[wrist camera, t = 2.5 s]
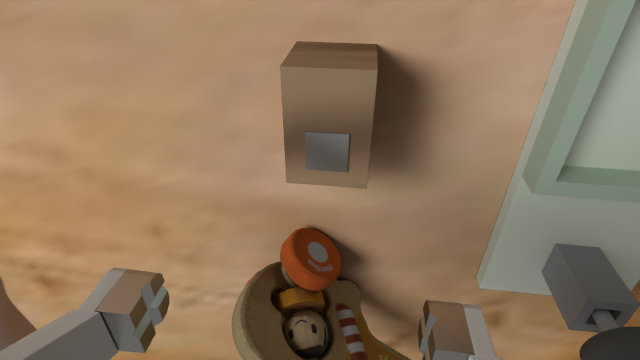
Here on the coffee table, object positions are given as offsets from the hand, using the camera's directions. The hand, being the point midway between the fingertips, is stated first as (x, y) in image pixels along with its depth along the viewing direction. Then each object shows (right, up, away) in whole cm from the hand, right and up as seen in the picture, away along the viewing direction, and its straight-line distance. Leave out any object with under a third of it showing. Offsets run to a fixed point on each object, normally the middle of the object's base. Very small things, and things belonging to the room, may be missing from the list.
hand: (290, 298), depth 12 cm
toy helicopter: (+4, -6, +23) cm, 24 cm away
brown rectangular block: (+2, +9, +13) cm, 16 cm away
